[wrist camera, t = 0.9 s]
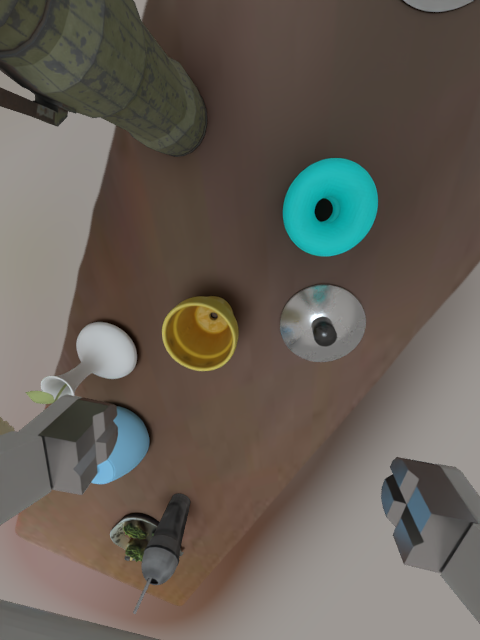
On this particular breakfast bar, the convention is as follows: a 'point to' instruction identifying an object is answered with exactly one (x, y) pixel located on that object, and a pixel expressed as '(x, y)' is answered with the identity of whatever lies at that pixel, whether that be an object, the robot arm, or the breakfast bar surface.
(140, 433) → the sugar bowl
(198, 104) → the olive green textured cylinder
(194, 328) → the plant pot
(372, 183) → the donuts
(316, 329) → the steel lid
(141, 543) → the salad plate
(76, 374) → the flower in vase
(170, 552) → the beverage cup
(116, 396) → the breakfast bar surface
